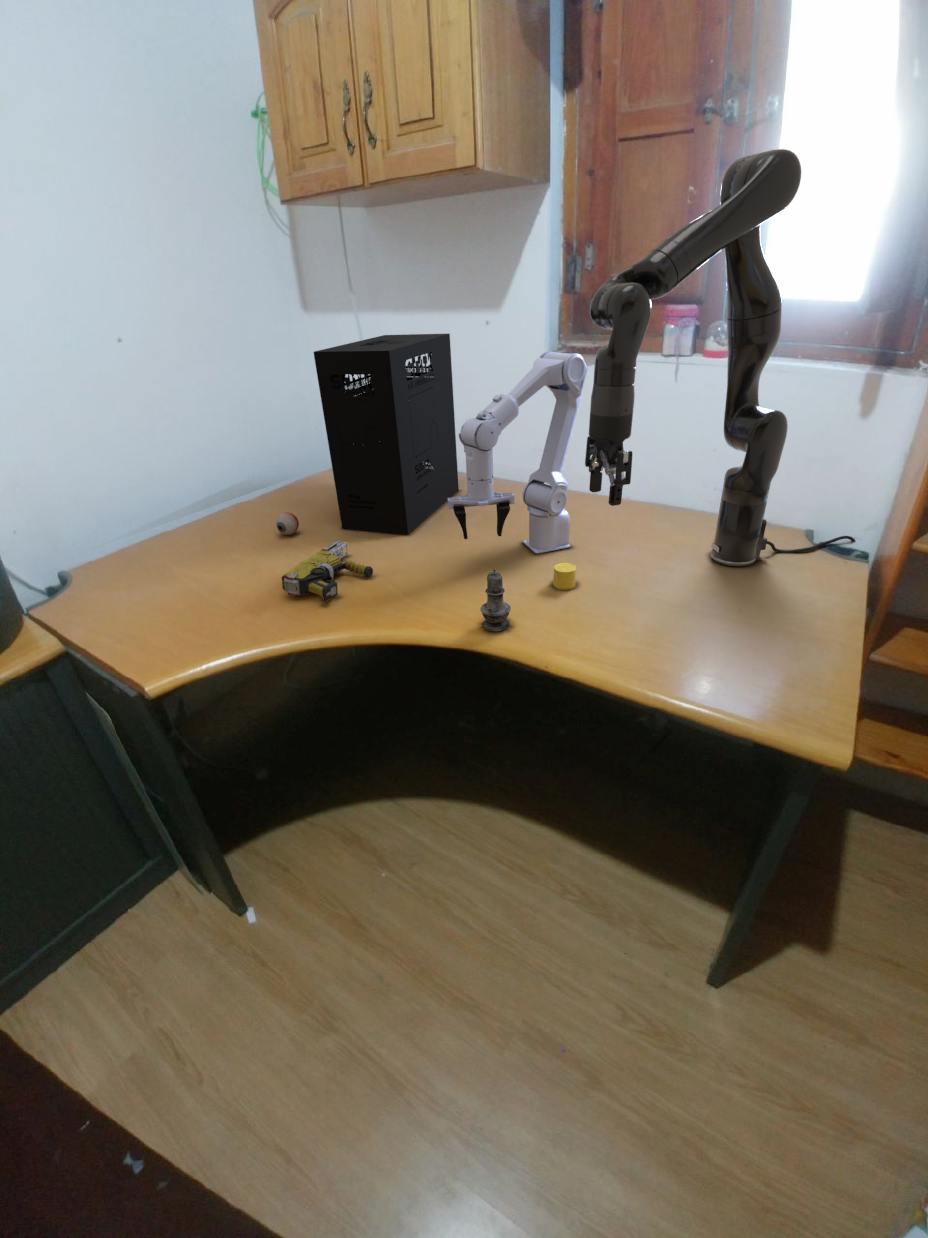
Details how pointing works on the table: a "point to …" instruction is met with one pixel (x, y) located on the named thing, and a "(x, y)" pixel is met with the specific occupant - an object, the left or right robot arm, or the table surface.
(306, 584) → the toy gun
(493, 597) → the grey tall turned piece
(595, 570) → the table surface
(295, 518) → the eyeball
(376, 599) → the table surface
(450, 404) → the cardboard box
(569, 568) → the tin
